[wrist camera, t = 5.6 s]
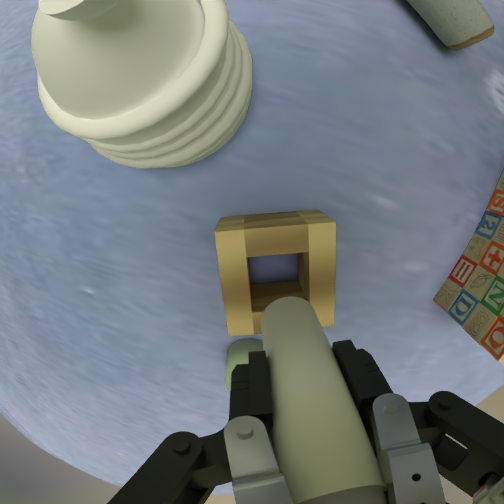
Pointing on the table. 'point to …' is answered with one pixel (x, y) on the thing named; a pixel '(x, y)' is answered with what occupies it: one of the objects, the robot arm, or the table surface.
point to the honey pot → (143, 76)
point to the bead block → (275, 243)
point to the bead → (240, 355)
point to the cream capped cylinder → (315, 413)
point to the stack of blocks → (481, 281)
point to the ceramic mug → (455, 21)
